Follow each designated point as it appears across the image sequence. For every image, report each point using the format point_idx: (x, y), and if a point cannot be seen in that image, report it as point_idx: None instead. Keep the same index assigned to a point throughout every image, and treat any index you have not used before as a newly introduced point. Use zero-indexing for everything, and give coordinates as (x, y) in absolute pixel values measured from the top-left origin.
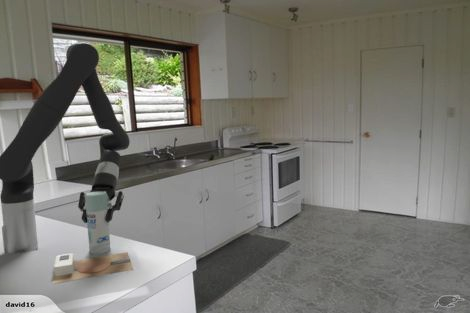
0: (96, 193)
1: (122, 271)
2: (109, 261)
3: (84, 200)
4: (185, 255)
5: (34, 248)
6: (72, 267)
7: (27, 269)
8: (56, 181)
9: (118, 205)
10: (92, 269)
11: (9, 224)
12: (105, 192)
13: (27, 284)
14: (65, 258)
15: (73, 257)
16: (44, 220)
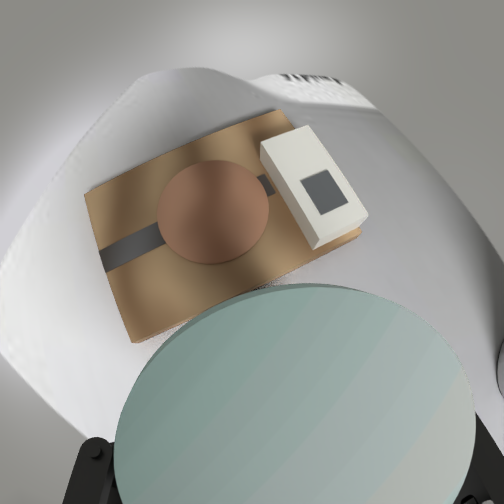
0: (303, 478)
1: (110, 180)
2: (169, 245)
3: (462, 494)
4: None
5: (502, 366)
6: (264, 157)
7: (436, 231)
8: None
9: (81, 449)
10: (205, 181)
11: None
12: None
13: (366, 144)
14: (314, 182)
15: (314, 242)
16: None
